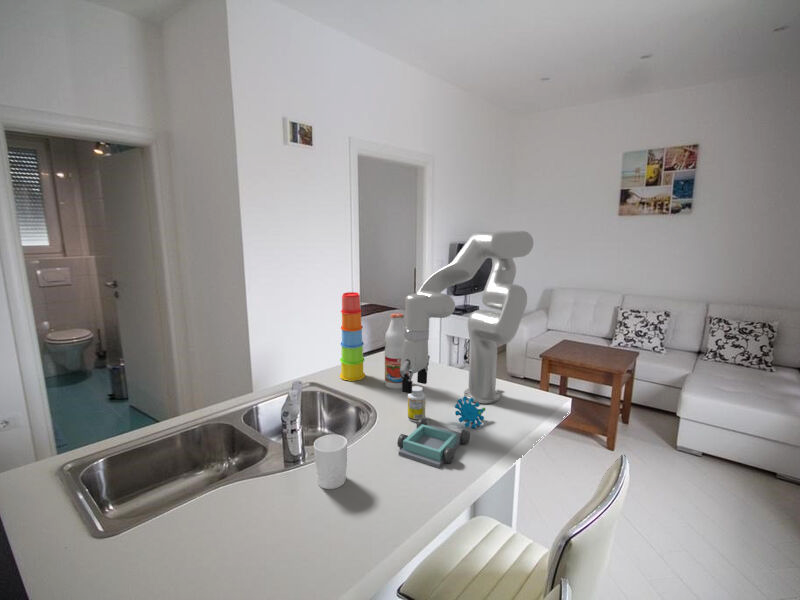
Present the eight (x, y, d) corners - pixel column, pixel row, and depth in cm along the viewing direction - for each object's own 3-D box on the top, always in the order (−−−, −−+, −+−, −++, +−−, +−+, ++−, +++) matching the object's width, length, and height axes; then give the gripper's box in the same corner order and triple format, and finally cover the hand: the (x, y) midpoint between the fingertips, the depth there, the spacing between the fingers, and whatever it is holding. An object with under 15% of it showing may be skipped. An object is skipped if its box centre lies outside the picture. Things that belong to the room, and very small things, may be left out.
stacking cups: (370, 375, 169) (369, 292, 163) (354, 383, 160) (353, 295, 154) (350, 370, 174) (348, 290, 168) (334, 378, 166) (332, 293, 159)
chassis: (423, 425, 126) (424, 414, 126) (471, 438, 119) (471, 427, 118) (393, 453, 111) (393, 440, 111) (445, 470, 103) (445, 457, 103)
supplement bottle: (414, 413, 135) (415, 383, 133) (428, 418, 131) (429, 387, 130) (404, 419, 131) (404, 388, 129) (417, 424, 127) (418, 393, 125)
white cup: (320, 495, 94) (319, 454, 92) (311, 476, 101) (309, 439, 99) (352, 485, 98) (352, 446, 96) (341, 467, 104) (340, 431, 103)
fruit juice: (406, 379, 164) (406, 311, 159) (411, 388, 155) (411, 316, 150) (383, 381, 163) (382, 311, 158) (386, 390, 154) (386, 317, 149)
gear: (462, 427, 122) (452, 396, 127) (452, 434, 126) (444, 403, 131) (492, 425, 126) (482, 394, 132) (482, 432, 131) (472, 402, 136)
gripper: (419, 327, 135) (417, 377, 138) (391, 338, 121) (389, 393, 123) (439, 331, 132) (437, 382, 134) (413, 342, 117) (411, 399, 120)
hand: (414, 387), depth 129 cm, fingers open, 9 cm apart
